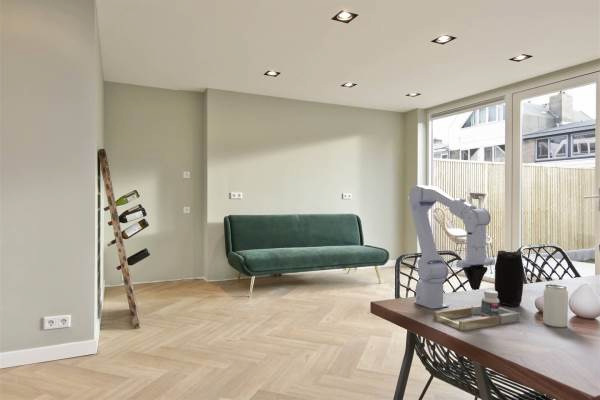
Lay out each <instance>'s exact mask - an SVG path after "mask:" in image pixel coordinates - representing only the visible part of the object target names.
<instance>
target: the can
mask: <svg viewBox="0 0 600 400" xmlns="http://www.w3.org/2000/svg"><path fill="white" fill-rule="evenodd" d="M542 302H543V303H542V304H543V305H542V306H543V308H542V312H543V313H542V323H544V325H546V326H549V327H551V328H558V329H559V328H561V329H563V328H567V326H568V320H569V316H568V314H569V312H568V311H569V291H568V290H567V287H566V286H564V285H560V284H545V287H544V289H543V301H542Z"/></svg>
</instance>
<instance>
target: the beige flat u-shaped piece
mask: <svg viewBox="0 0 600 400" xmlns="http://www.w3.org/2000/svg"><path fill="white" fill-rule="evenodd" d="M472 315H473V314H472V308H471V306H470V307H469V306H465V307H464V306H463V307H458V308H457V307H456V308H450V309H442V310H436V311H433V320H435V321H437V322H440V323H442V324H445V325H447V326H450V327H453V328H455V329H458V330H460V331H470V330H473V329H474V330H475V329H476V330H477V329H480V328H486V327H492V326H493V327H494V326H498V325H499V324H500V323H499V316H496V315H493V316H486V317H481V316H480V317H475V318H469V319H463V320H462V319H461V320H458V321H455V320H452V319H456V318H462V317H464V318H465V317H470V316H472Z"/></svg>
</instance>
